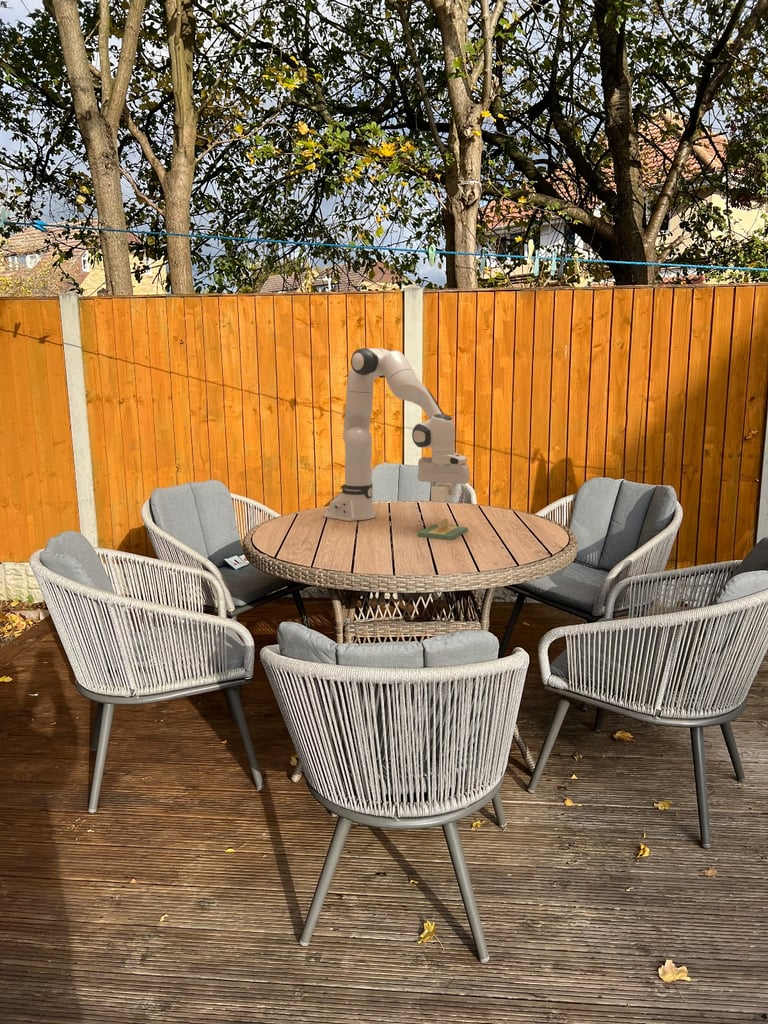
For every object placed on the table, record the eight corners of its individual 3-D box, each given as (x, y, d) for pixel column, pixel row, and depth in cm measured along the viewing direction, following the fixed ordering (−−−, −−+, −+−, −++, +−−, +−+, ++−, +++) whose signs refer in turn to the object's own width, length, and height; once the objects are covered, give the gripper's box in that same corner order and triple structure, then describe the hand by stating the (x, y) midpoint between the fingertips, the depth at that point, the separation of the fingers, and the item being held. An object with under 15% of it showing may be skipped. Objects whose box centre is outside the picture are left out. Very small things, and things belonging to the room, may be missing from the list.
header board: (417, 536, 288) (417, 523, 287) (435, 527, 302) (435, 515, 301) (451, 540, 282) (451, 527, 281) (467, 531, 295) (468, 518, 294)
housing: (431, 500, 285) (430, 487, 284) (443, 495, 295) (443, 482, 294) (443, 501, 283) (443, 488, 282) (455, 496, 293) (455, 483, 291)
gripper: (414, 457, 288) (415, 493, 291) (464, 460, 278) (464, 497, 281) (421, 455, 293) (422, 491, 296) (471, 458, 284) (471, 494, 287)
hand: (443, 494), depth 289 cm, fingers closed on housing, 5 cm apart
